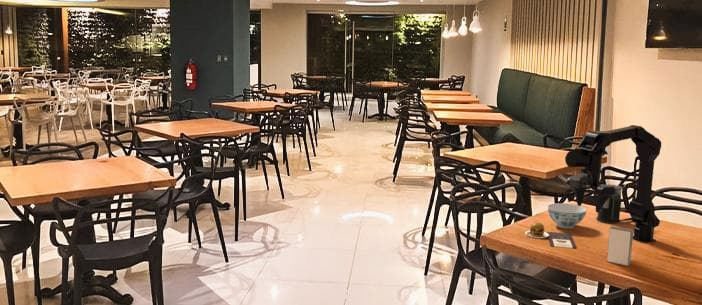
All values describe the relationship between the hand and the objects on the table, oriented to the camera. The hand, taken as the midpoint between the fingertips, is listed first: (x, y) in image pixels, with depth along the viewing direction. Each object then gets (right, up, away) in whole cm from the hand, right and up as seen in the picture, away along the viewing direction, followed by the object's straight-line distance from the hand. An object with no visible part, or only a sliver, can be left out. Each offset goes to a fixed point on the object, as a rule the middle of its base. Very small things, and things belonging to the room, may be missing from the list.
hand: (588, 209), depth 231 cm
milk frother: (+26, -9, +37) cm, 46 cm away
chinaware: (+2, -10, +29) cm, 31 cm away
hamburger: (-14, -12, +16) cm, 25 cm away
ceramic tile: (+5, -17, -14) cm, 22 cm away
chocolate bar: (-6, -14, +11) cm, 18 cm away
